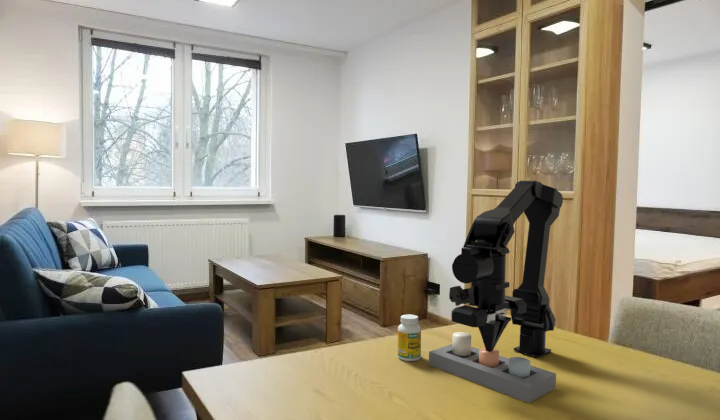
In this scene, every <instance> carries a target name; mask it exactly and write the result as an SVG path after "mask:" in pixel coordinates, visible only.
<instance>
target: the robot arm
mask: <svg viewBox="0 0 720 420" xmlns="http://www.w3.org/2000/svg"><path fill="white" fill-rule="evenodd" d="M563 202H564V199H563V194H562V193H561V192H560V191H559V189H557V188H555V187H551V186H548V185H545V184H543V183H542V182H540V181H537V180H519V181H517V182H515V185H514V187H513V189H512V190H511V191H510V192H509V193H508V194H507V196H505V197H504V198H503V200H501V202H500V203H499V204H497V206H496V207H495V208H493V209H490V210H486V211H483V212H482V213H481V214H479V215H477V216H475V219H474V220H473V222H472V224H471V227H470V229H469V231H468V234H467V236H466V238H465V241H464V243H463V246H462V247H461V249H460V250H461V253H460V254H458V255H457V256H456V257H454V260H453V262H452V264H451V269H452V274H453V276H454V278H455V279H456V280H457V281H459V282H460V283H462V284H470V287H468V288H463V287H462V286H461V285H455V286H451V287H449V294H448V296H449V297H448V299H449V300H450V302H452V303H454V304H455V306H456V307H455V308H453V309H452V310H451V314H450V315H451V316H450V317H451V318H450V320H451V322H452V323H456V324H459V325H463V326H467V327H470V328H478V330H479V334H480V336H481V339H482V342H483V345H484V348H485V349H486V351H489V352H491V351H493V349H495V347H496V345H497V343H498V342H499V340H500V338H501V336H502V335H503V333H504V330H505V329H506V328H507V325H508V324H509V323H510V321H511V322H512V323H511V324H512V325H514V326H515V325H516V326H520V327H519V346H516V347H514V348H513V351H515V352H517V353H522V354H526V355H529V356H532V357H535V358H540V357H543V356H546V355H548V354H549V353H550V354H551V353H552V349H551V348H547V347H546V343H547V342H546V339H547V338H546V337H547V334H546V333H547V332H550V331H551V332H553V331H554V330H555V326H556V317H555V315H554V313H553V311H552V309H551V306H550V296H549V294H548V293H547V290H546V288H545V278H546V268H547V259H548V251H549V249H548V248H549V241H550V231H551V226H552V224H554V222H555V221H556V220H557V219H558V218H559V215H560V211H561V208H562V206H563V204H564V203H563ZM522 214H524V216H525V217H526V219H527V221H528V233H527V239H526V248H525V257H524V265H523V274H522V282H521V284H520V285H519V286H518V287H517V288H514V289H513V291H512V296H511V295H506V289H507V288H510V282H509V281H506V267H507V265H506V262H507V261H506V260H507V259H506V258H507V256H506V255H507V254H510V252H511V251H510V249H509V248H508V244H509V243H510V241H511V239H512V238H513V236H514V234H515V233H516V232H515V228H514V225H515V223H516V221H517V220H518V219H519V218H520V217H521V216H522ZM467 304H468V305H467ZM460 305H461V306H460ZM506 311H509V312H510V317H509V316H507V315H506Z"/></svg>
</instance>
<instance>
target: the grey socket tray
mask: <svg viewBox="0 0 720 420" xmlns="http://www.w3.org/2000/svg"><path fill="white" fill-rule="evenodd" d="M479 349H480V348H476V347H473V346H471V354H470V355H468V356H459V355H455V354H453V353H452V343H451V344H449V345H446V346H445V345H444V346H442V347H439V348H436V349H434V350H430V351H428V366H430V367H433V368H435V369H438V370H441V371H444V372H447V373H449V374H452V375H454V376H457V377H459V378H462V379H464V380H466V381H467V380H468V381H469V382H473V383H475V384H478V385H480V386H484V387H486V388H489V389H490V390H494V391H496V392H499V393H501V394H504V395H506V396H508V397H512V398H514V399H517V400H520V401H523V402H524V403H528V404H530V403H532V402H533V401H535V400H537V399H539V398H541V397H543V396H544V395H546V394H548V393H550V392H552V391H554V390H555V389H556V388H557V387H556V386H557V385H556V384H557V372H553V371H550V370H547V369H543V368H540V367H537V366H533V365H531V364H530V377H527V378H525V379H522V378H519V377H516V376H513V375H510V374H509V358H510V357H509V358H508V357H506V356H502V355H499V366H496V367H494V368H490V367H487V366H484V365H481V364H479Z"/></svg>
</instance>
